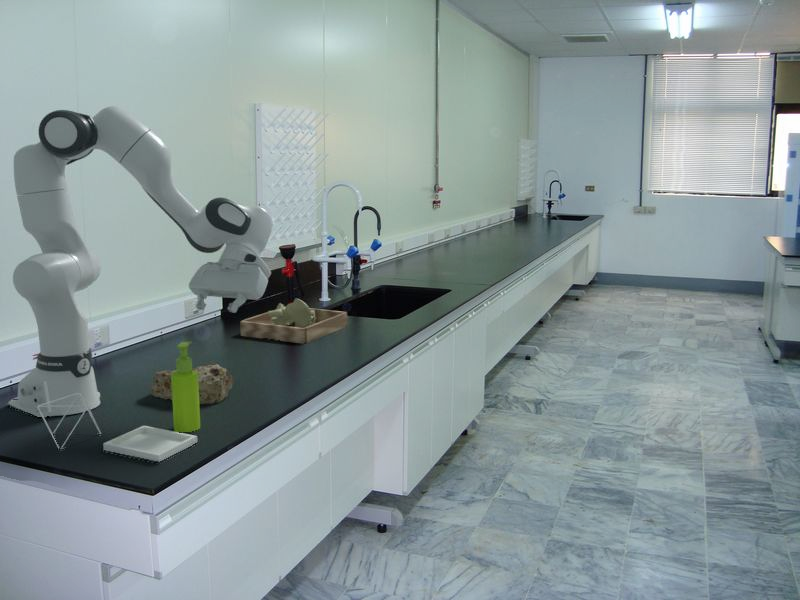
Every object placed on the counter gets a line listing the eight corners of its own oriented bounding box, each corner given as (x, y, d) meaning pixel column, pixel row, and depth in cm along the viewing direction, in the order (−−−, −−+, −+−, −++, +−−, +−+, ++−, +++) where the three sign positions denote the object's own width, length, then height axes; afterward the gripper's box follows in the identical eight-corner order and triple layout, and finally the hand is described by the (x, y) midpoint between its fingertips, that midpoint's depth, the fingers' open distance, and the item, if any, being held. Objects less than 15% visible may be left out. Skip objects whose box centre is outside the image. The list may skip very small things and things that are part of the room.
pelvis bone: (269, 316, 281) (301, 292, 283) (291, 346, 280) (323, 322, 282) (260, 309, 262) (295, 284, 263) (284, 342, 260) (319, 316, 262)
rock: (142, 403, 197) (144, 363, 197) (180, 400, 210) (181, 363, 210) (207, 405, 188) (208, 364, 189) (242, 402, 201) (243, 363, 202)
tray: (103, 451, 162) (103, 443, 162) (144, 433, 173) (143, 425, 172) (159, 463, 156) (158, 455, 156) (197, 443, 167) (197, 436, 166)
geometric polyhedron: (96, 427, 176) (93, 389, 175) (106, 442, 167) (103, 402, 165) (37, 438, 170) (33, 398, 168) (43, 454, 161) (40, 413, 159)
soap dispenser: (203, 422, 180) (200, 339, 176) (197, 433, 173) (193, 347, 169) (178, 422, 180) (174, 339, 176) (171, 433, 173) (166, 347, 169)
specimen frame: (239, 335, 264) (238, 321, 263) (287, 318, 291) (287, 305, 291) (305, 343, 254) (304, 329, 253) (348, 325, 281) (348, 312, 280)
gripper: (197, 254, 192) (173, 299, 185) (265, 257, 183) (243, 305, 177) (209, 269, 197) (187, 314, 190) (277, 273, 188) (256, 320, 181)
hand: (215, 309), depth 183 cm, fingers open, 8 cm apart
